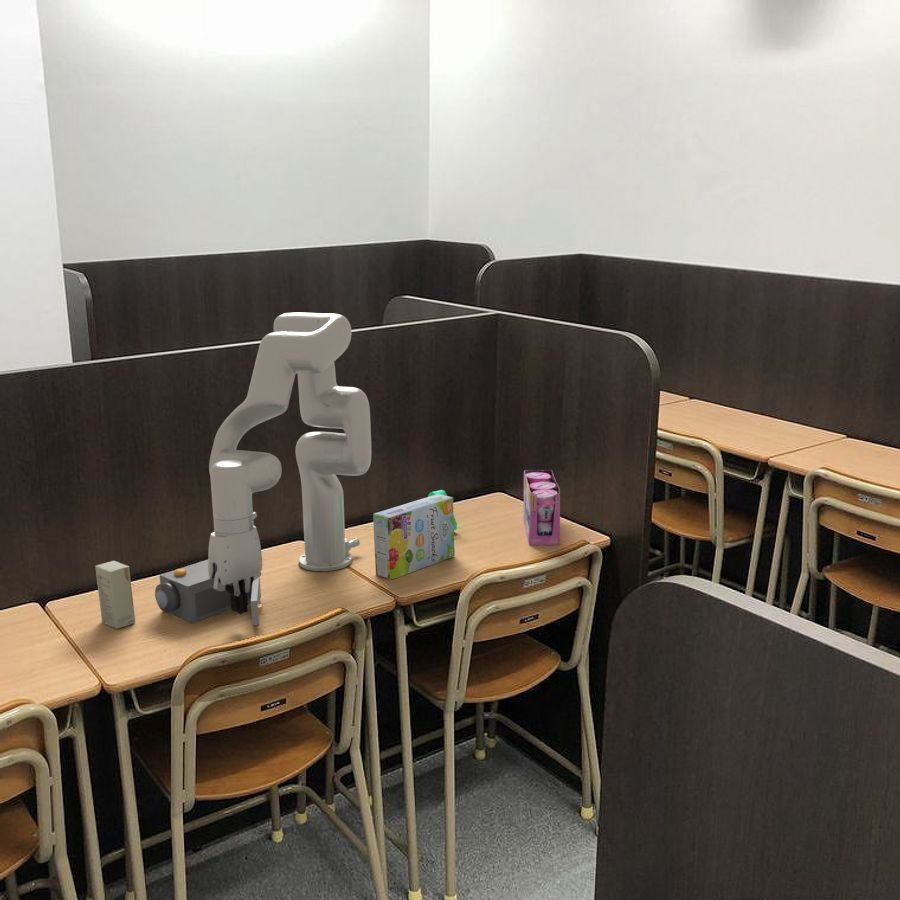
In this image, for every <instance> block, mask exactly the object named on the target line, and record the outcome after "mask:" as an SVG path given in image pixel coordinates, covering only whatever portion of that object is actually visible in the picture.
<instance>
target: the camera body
mask: <svg viewBox="0 0 900 900" xmlns="http://www.w3.org/2000/svg"><path fill="white" fill-rule="evenodd" d="M252 585H253V583H252V584H251V586H250V591H249V592H248V593H247V597H248V603H251V594H252ZM213 586H214V580H210V578H209V569H208V559H205V560H201V561H199V562H196V563H193V564H190V565H187V566H184V567H180V568H177V569H175V570H174V569H173V570H171V571H167V572H165V573H161V574H159V584H157V585H156V587H155V590H154V595H155V596H154V597H155V601H156V603H157V606H158V607H159V609H160V610H161V611H162V612H164V613H165V614H168V615H171V616H173V617H175V618H177V619H180V620H181V621H184V622H186V623H188V624H193V623H196V622H199V621H202V620H204V619H207V618H209V617H212V616H215V615H217V614H220V613H223V612H225V611H228V610H232V608H231V602H230V593H227V591H216V590H214V589H213Z"/></svg>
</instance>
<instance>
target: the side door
mask: <svg viewBox="0 0 900 900" xmlns="http://www.w3.org/2000/svg"><path fill="white" fill-rule="evenodd" d="M260 577H261V576H260ZM260 577H259V578H257V579H256V580H254V581H253V585H252V594H251V601H250V608H251V609H250V610H251V624H252V626H257V625H259V623H260V622H259V621H260V616H261V615H263V604H262V603H261V598H262V594H261V592H262V591H261V589H262V588H261V578H260Z"/></svg>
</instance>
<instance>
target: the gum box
mask: <svg viewBox="0 0 900 900" xmlns="http://www.w3.org/2000/svg"><path fill="white" fill-rule="evenodd" d="M560 489H561V488H560V486H559V485H558V482H557V481H556V478H555V476H554V473H553V469H525V470H523V522H524V523H523V524H524V527H525V531H526V536H527V541H528V545H529V546H536V545H537V546H558V545H560V544H561V543H560V541H561V539H560V538H561V490H560Z"/></svg>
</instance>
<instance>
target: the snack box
mask: <svg viewBox="0 0 900 900" xmlns="http://www.w3.org/2000/svg"><path fill="white" fill-rule="evenodd" d="M454 513H455V512H454V497H453V496H448V495H447V496H445V495H441V494H436V495H433V496H430V497H428V496H427V497H423V498H420V499H417V500H413V501H411V502H407V503H404V504H402V505H398V506H394V507H391V508H387V509H384V510H381V511H377V512H374V513H373V514H372V520H373V522H372V523H373V539H374V540H373V543H374V564H375V565H374V566H375V575H376V576H377V577H380V578H383V577H384V578H383V579H387V580H389V579H390V581H392V580H391V579H393V580H395V579H397V577H398V578H400V577H402V576H405V574H406V575H408V574H410V573H413V571H414V572H417V571H418V570H421V568H422V569H423V568H424V569H425V568H426V567H429V566H433V565H435V564H437V563H440V562H442V561H446V560H448V559H450V558H453V557H455V555H456V552H455V548H456V547H455V530H454V517H455V515H454ZM394 578H395V579H394Z"/></svg>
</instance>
